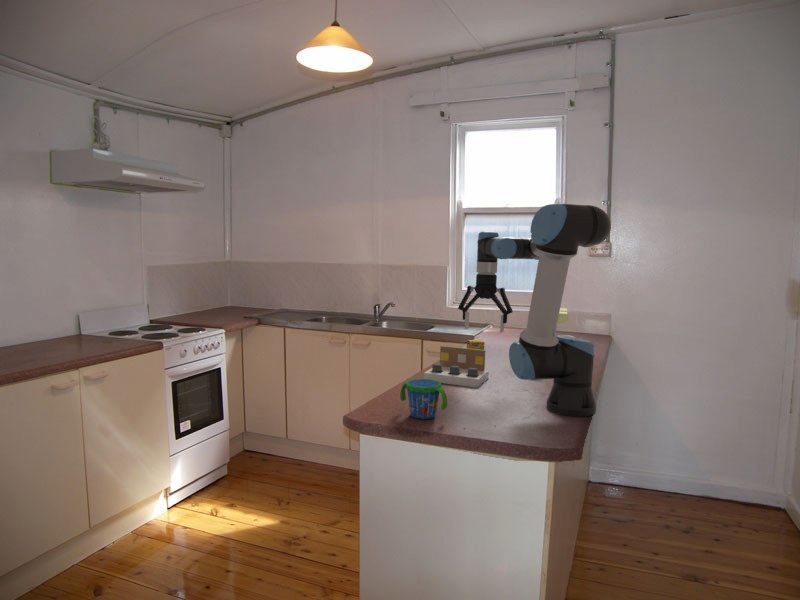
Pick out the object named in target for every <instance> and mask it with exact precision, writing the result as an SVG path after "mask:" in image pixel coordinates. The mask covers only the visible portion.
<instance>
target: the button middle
mask: <svg viewBox="0 0 800 600" xmlns="http://www.w3.org/2000/svg"><path fill="white" fill-rule="evenodd" d="M459 370H460V367H459V366H450V374H453V375H459Z"/></svg>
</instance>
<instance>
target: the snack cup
mask: <svg viewBox="0 0 800 600" xmlns="http://www.w3.org/2000/svg"><path fill="white" fill-rule="evenodd" d="M406 390H407V395H406ZM407 396H408V397H407ZM439 396H441V399H442V402H441V408H440V409H441V411H445V410H446V408H447V407H448V398H447V393H446V390H445V389H444V388H443V387H442V383H440V382H438V381H436V380H430V379H424V378H417V379H414V378H413V379H409V380H408V381H406V382H404V383H403V385H402V387H401V390H400V396H399V399H400V400H401V401H402V402H404V401H406V400H407V399H408V407H409V413H410V416H411V418H415V419H419V420H428V419H434V418H435V417H436V413H437V409H438V404H439Z"/></svg>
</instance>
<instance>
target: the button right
mask: <svg viewBox="0 0 800 600" xmlns="http://www.w3.org/2000/svg"><path fill="white" fill-rule="evenodd" d="M468 376H469V377H477V376H478V369H477V368H468Z"/></svg>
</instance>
